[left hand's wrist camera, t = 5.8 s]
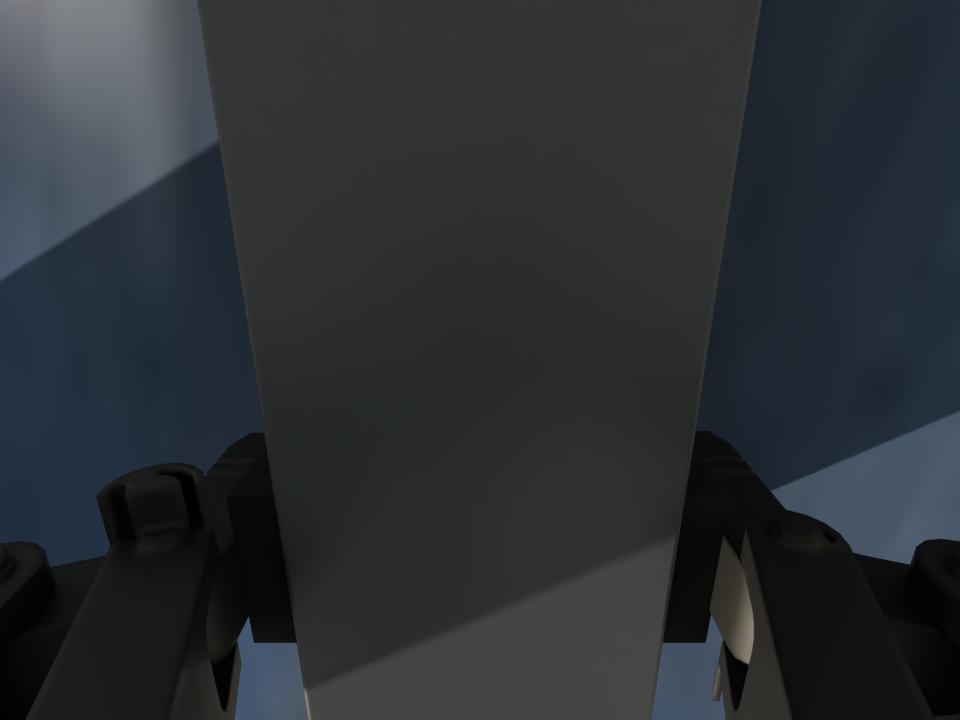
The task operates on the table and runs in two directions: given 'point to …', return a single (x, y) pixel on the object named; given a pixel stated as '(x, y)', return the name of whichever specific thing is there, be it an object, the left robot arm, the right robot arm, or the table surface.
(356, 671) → the bar
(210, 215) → the table surface
